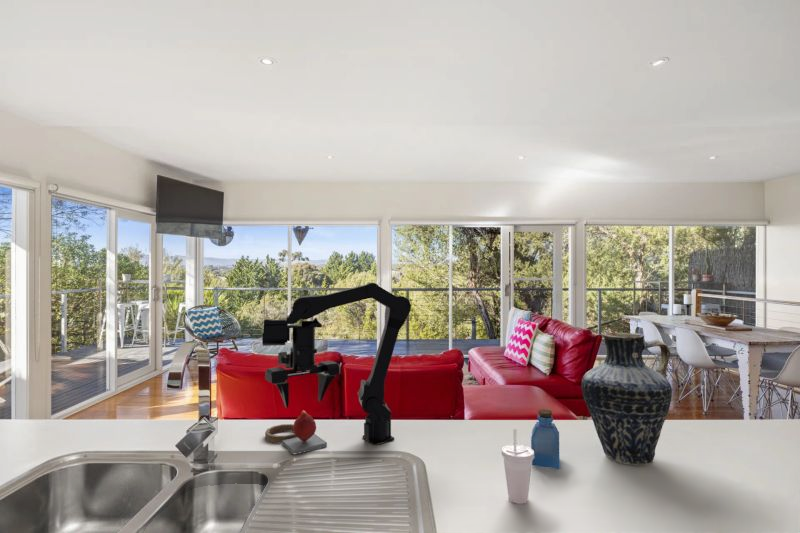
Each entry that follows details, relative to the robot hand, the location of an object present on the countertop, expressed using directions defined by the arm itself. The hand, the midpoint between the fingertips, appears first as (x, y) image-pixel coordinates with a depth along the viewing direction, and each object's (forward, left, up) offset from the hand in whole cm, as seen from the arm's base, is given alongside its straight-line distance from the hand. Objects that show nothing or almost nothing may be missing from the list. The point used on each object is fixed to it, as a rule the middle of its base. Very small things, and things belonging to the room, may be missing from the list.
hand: (303, 404), depth 118 cm
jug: (-61, +53, -11) cm, 81 cm away
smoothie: (-24, +51, -11) cm, 57 cm away
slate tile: (0, 0, -11) cm, 11 cm away
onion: (0, 0, -10) cm, 10 cm away
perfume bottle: (-43, +43, -11) cm, 62 cm away
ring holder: (+2, -9, -11) cm, 14 cm away
